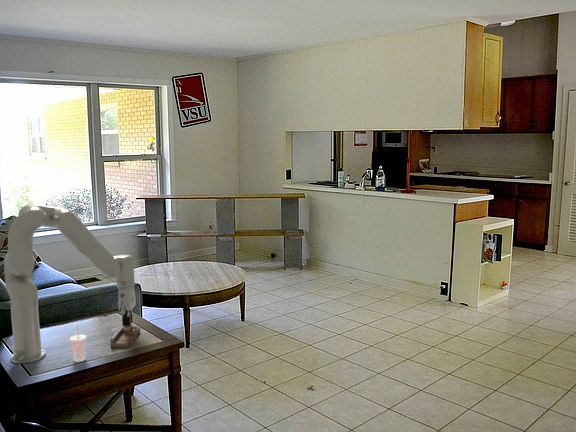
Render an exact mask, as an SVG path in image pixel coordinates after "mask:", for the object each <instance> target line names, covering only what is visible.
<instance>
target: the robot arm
mask: <svg viewBox="0 0 576 432" xmlns="http://www.w3.org/2000/svg"><path fill="white" fill-rule="evenodd" d="M41 227H45V228H46V227H47V228H56V229H58V231H59V232H60V233H61V235H63V236H64V237H65V238H66V239H67V240H68V241H69V243H70V244H71V245H72V246H73V247H74V248H75V249H76V250H77V251H78V252H79V253H81V254H82V255H84V256H85V257H86V258H87V259H88V260H89V261H90V262H92V263H93V265H94V268H95V269H96V271H97V272H99V273H100V274H101V275H103V276H104V277H106V278H109V279H110V278H116V279H115V280H116V289H118V291H117V292H118V295H117V299H118V300H117V302H118V304H117V305H118V310H119V311H120V315H121V321H122V323H121V324H122V325H123V326H130V317H129V312H131V324H133V309H134V307H136V304H137V300H136V299H137V298H136V291H135V287H136V286H135V285H136V284H135V283H136V282H135V264H134V257H133V255H131V254H118V255H112V254H111V252H110V251H109V250H108V249H107V248H106V247H105V246H104V245H103V244H102V243H101V242H100V240H98V238H97V237H96V236H95V235H94V234H93V233H92V232H91V231H90V230H89V228H88V227H87V226H86V225H85V224H84V223H83V222H82V221H81V220H80V219H79V217H77V215H76V214H75V213H74V212H72V211H71V210H69V209H67V208H64V207H56V206H49V205H38V204H26V205H24V206H22V207H21V208H20V209H19V211H18V216H17V217H16V218H15V219H14V220H13V222H11V225H10V227H9V228H8V232H7V233H8V234H7V251H8V252H7V253H6V254H5V256H4V260H3V266H4V268H3V269H4V281H5V290H6V292H7V293H8V296H9V298H10V316H11V317H10V318H11V319H10V320H11V326H12V327H11V328H12V340H13V352H14V353H12V354H11V356H10V357H9V361H10V362H11V363H14V364H29V363H33V362H36V361H39V360H41V359H43V358H45V356H46V354H47V352H46V350H45V349H43V348H42V339H41V330H40V329H41V328H40V315H39V291H38V290H39V289H38V287H37V285H36V284H35V282H34V281H33V280H32V271H33V270H34V267H35V260H34V247H33V246H34V245H33V243H34V242H33V241H34V239H33V238H34V235H35V232H36V231H37V230H38V229H40V228H41ZM126 312H127V313H126Z"/></svg>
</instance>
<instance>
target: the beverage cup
mask: <svg viewBox="0 0 576 432" xmlns="http://www.w3.org/2000/svg"><path fill="white" fill-rule="evenodd" d="M76 332H77V333H76V334H75V335H72V336H70V337H69V341H70V344H71V352H72V353H71V354H72V358H73V359H72V360H73V362H76V363H77V362H83V361H85V360H86V359H87V337H88V336H87V335H86V334H80V333H79V324H76Z"/></svg>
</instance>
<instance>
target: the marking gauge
mask: <svg viewBox="0 0 576 432" xmlns="http://www.w3.org/2000/svg"><path fill="white" fill-rule="evenodd" d="M126 313H127V312H126ZM129 317H130V326H124V328H123V331H124V332H130V331H131V330H132V329H135V331H136V330H137V328H138V326H135V325H134V326H133V323H131V312H129Z"/></svg>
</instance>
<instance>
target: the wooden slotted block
mask: <svg viewBox="0 0 576 432" xmlns="http://www.w3.org/2000/svg"><path fill="white" fill-rule="evenodd" d="M118 328H119V329H117V331H116V332H115V333H114V334H113V335H112V336H110V339H109V341H110V348H111V349H128V348H129V347H130V345H131V344H132V343H133V342H134V341H135V339H136V338H137V337H138V335H139V334H140V333H141V328H140V327H137V330H136V331H135V329H132V330H131V331H130V332H124V331H123V328H124V326H123V324H122V325H121V326H120V327H118Z"/></svg>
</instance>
